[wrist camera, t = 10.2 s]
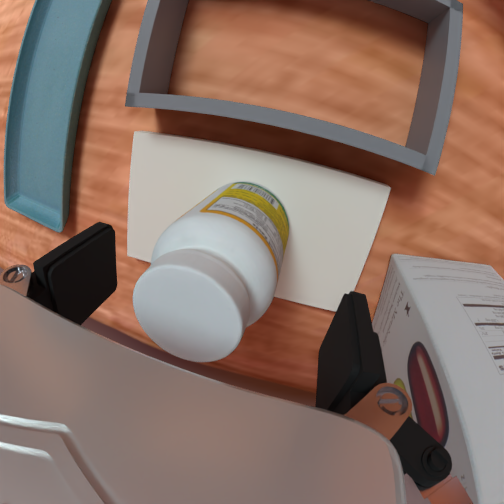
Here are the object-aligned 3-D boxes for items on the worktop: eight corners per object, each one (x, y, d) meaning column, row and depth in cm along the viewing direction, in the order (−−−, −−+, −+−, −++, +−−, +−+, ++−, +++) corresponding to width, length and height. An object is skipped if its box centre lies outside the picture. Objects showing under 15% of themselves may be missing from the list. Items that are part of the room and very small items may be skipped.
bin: (439, 19, 11) (462, 3, 8) (412, 165, 16) (435, 175, 12) (187, -30, 12) (165, -51, 9) (154, 106, 17) (124, 106, 14)
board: (386, 184, 16) (391, 188, 15) (342, 305, 20) (343, 313, 19) (141, 130, 18) (134, 131, 17) (134, 250, 22) (127, 255, 21)
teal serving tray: (77, 226, 22) (59, 237, 20) (18, 199, 23) (1, 207, 20) (156, -66, 11) (141, -79, 8) (77, -49, 11) (60, -56, 9)
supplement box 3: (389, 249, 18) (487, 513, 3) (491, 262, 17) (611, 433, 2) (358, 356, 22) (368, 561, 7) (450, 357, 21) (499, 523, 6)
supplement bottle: (275, 168, 16) (233, 224, 8) (300, 253, 18) (285, 371, 10) (191, 193, 18) (92, 262, 9) (220, 270, 20) (157, 376, 11)
